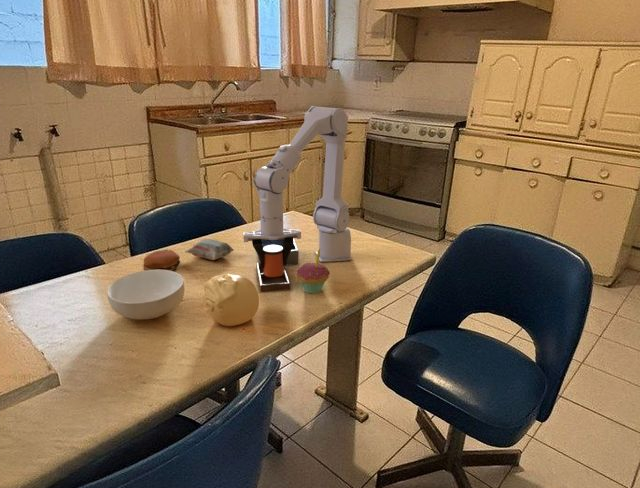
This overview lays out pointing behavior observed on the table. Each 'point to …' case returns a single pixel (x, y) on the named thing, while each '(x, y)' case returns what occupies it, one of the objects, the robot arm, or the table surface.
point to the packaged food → (210, 249)
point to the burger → (161, 260)
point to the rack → (272, 281)
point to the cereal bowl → (146, 294)
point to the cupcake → (313, 276)
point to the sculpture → (231, 299)
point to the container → (273, 260)
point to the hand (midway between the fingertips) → (273, 265)
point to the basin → (294, 251)
